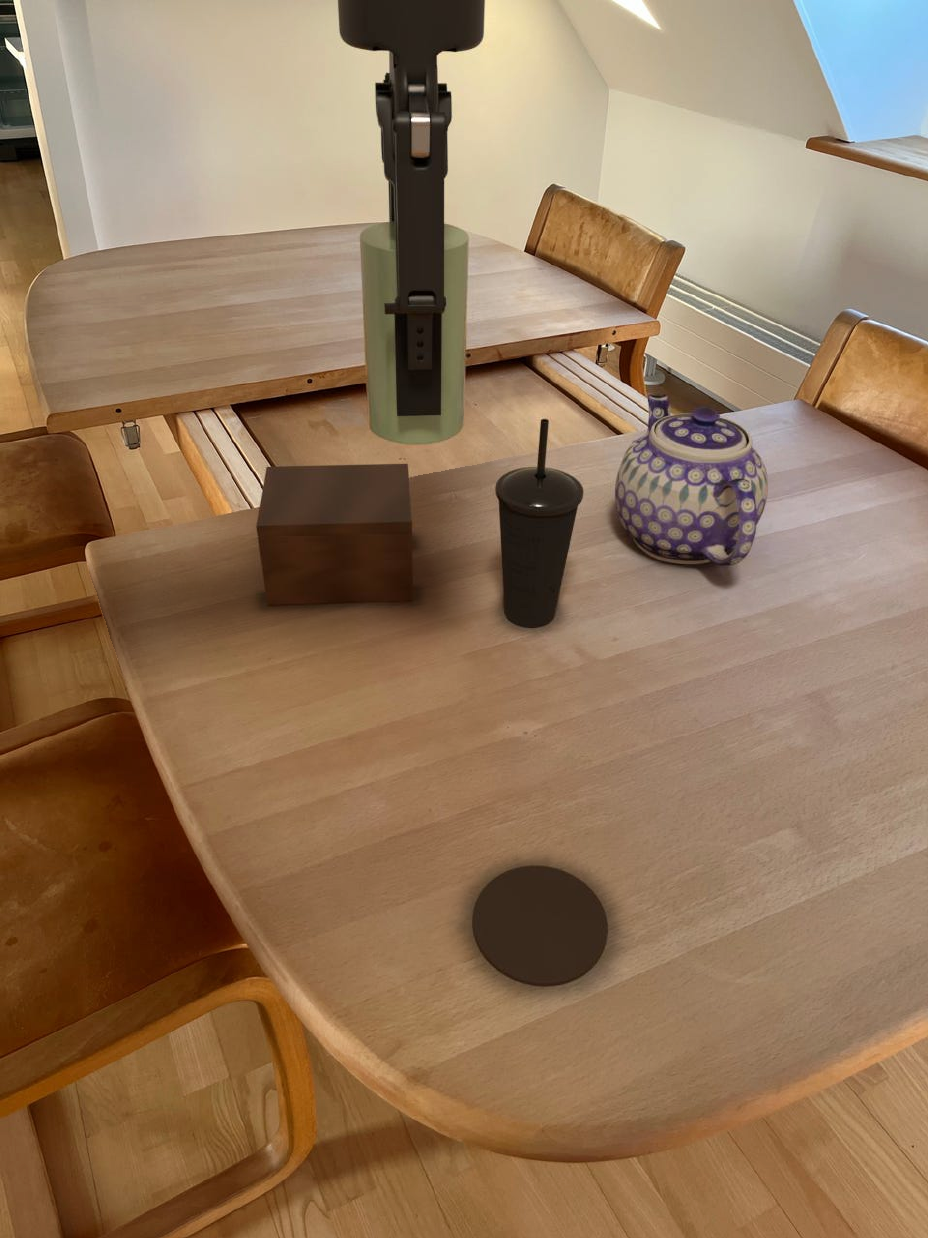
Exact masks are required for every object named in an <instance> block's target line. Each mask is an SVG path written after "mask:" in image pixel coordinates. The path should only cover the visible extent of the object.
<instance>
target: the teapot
mask: <svg viewBox="0 0 928 1238" xmlns="http://www.w3.org/2000/svg"><path fill="white" fill-rule="evenodd" d="M647 406H648V420H647V421H648V422H647V431H646V434H644V435H642V436H639V437H638V438H636V439H634V440H633V441H632V442H631V444H630V445H629V447H628V448H627V449H626V451H625V453H624V455H623V457H622V460H621V462H620V465H619V468H618V471H617V473H616V474H617V475H616V478H615V484H614V486H615V487H614V496H615V497H614V499H615V501H614V502H615V508H616V513H617V515H618V518H619V521H620V523H621V526H622V527H623V529H624V530H625V531H626V532H627V533H628V535H629V536H631V538H632V539H633V541H634V543H635V544H636V546H637V547H638V548H639V549H640V550H641V551H642V552H644V553H645V554H646V555H648V556H649V557H651V558H654V559H656V560H658V561H662V562H666V563H667V562H668V563H673V564H682V565H700V564H705V563H706V564H707V563H713V564H715V565H717V566H722V567H723V566H725V567H729V566H734V565H737V564H739V563H741V562H743V560H744V559H746V557H747V556H748V554H749V553H750V552H751V549H752V547H753V544H754V540H755V537H756V531H757V525H758V524H759V521H760V520H761V518H762V516H763V513H764V510H765V507H766V503H767V499H768V492H769V480H768V474H767V473H768V472H767V467H766V466H765V463H764V460H763V459H762V457H761V456H760V455H759V453H758V451H757V450H756V449H755V448H754V447H753V445H754V443H753V437H752V436H751V433H750V432H748V430H747V429H746V428H744V427H743V426H742V425H740V424H739V423H736V422H735V421H732V420H731V419H728V418H724V417H721V415H720V413H718V412H717V411H716V410H715V409H714V408H712V407H709V406H700V407H697V408H695V409H693V410H692V412H691V413H676V414H675V413H674V414H672V411H671V403H670V398H669V397H668V395H666V394H648V395H647ZM728 552H731V553H729V554H728Z"/></svg>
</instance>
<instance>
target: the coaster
mask: <svg viewBox="0 0 928 1238" xmlns="http://www.w3.org/2000/svg"><path fill="white" fill-rule="evenodd" d="M471 921H472V933H473V937H474V941H475V943H476V945H477V947H478V949H479V951H480V953H481V954H482V956H483V957H484V958H485V959H486V961H487V962H488V963H489V965H491V966H492V967H493V968H494V969H496V970H497V971H498V972H499V973H500V974H502V975H504V976H506V977H507V978H509V979H512V980H514V981H516V982H519V983H521V984H526V985H529V986H535V987H536V986H537V987H553V986H560V985H565V984H568V983H571V982H573V981H575V980H578V979H579V978H581V977H583V976H584V975H586V974H587V973H588V972H589V971H591V970H592V969H593V968H594V967H595V966H596V965H597V963H598V962H599V961H600V959H601V957H602V955H603V953H604V951H605V948H606V945H607V941H608V935H609V923H608V917H607V913H606V911H605V908H604V905H603V904H602V902H601V900H600V898H599V897H598V895H597V894H596V893H595V892H594V890H593V889H592V888H590V886H589V885H588V884H586V882H584V881H583V880H581V879H580V878H579V877H577V876H575V875H573V874H571V873H569V872H567V871H565V870H562V869H560V868H556V867H552V866H548V865H523V866H519V867H514V868H512V869H507V870H506V871H504V872H502V873H500V874H499V875H497V876H495V877H494V878H492V879H491V881H489V882H488V883H487V884H486V885H485V886H484V887H483V888H482V890H481V892H480V893H479V895H478V897H477V898H476V901H475V903H474V906H473V911H472V919H471Z"/></svg>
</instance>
